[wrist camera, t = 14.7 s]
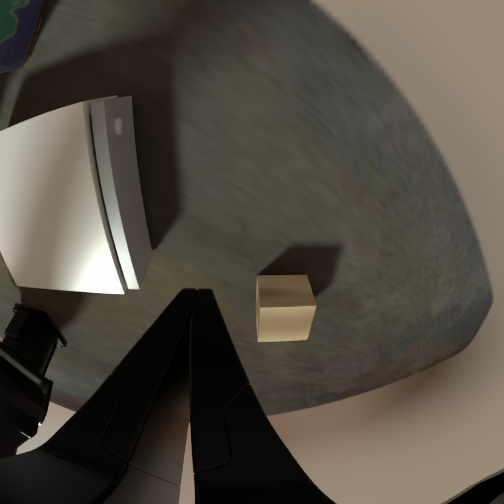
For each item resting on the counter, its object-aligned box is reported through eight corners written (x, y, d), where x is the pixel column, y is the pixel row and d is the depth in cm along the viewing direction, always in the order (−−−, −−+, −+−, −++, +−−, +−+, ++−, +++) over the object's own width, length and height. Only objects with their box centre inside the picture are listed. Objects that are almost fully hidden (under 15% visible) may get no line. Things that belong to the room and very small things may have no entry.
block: (300, 309, 24) (307, 339, 21) (255, 310, 24) (258, 341, 21) (306, 274, 22) (316, 305, 19) (257, 275, 21) (260, 307, 19)
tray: (156, 255, 20) (142, 289, 16) (47, 255, 19) (26, 282, 16) (135, 94, 13) (108, 99, 10) (14, 129, 12) (-19, 144, 9)
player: (141, 255, 20) (124, 294, 16) (40, 255, 19) (17, 286, 16) (117, 95, 13) (82, 101, 9) (6, 129, 12) (-30, 147, 9)
